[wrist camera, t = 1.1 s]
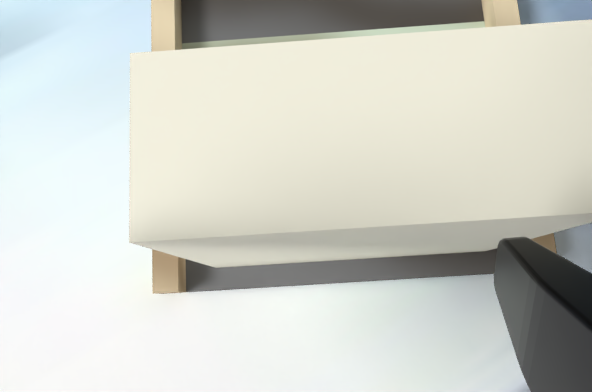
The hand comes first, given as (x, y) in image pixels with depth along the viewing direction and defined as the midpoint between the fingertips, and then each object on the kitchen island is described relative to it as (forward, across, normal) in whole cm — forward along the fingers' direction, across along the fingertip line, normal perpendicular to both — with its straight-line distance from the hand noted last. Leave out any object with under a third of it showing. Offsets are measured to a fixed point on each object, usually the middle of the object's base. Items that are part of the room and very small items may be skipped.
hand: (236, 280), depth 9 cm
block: (+11, -3, +6) cm, 13 cm away
